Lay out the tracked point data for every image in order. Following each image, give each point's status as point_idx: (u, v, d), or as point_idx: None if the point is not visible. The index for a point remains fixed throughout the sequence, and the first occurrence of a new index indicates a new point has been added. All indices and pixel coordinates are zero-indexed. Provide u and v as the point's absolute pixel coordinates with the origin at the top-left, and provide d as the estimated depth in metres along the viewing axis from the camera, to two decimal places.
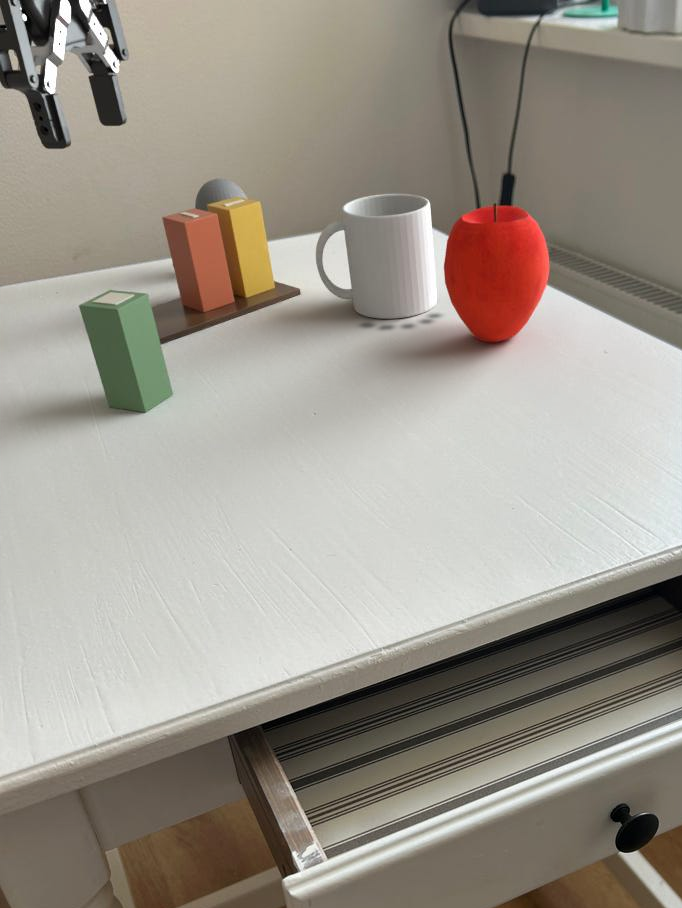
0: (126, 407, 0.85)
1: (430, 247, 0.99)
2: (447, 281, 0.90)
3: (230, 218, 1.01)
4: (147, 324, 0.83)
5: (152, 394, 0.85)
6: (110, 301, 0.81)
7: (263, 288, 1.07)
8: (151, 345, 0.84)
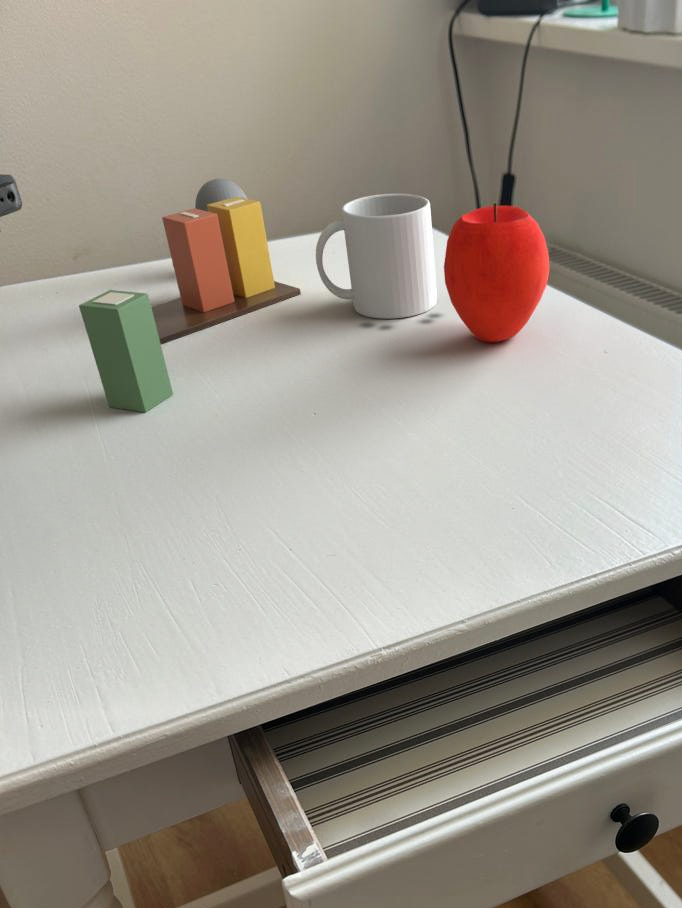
0: (126, 407, 0.85)
1: (430, 247, 0.99)
2: (447, 281, 0.90)
3: (230, 218, 1.01)
4: (147, 324, 0.83)
5: (152, 394, 0.85)
6: (110, 301, 0.81)
7: (263, 288, 1.07)
8: (151, 345, 0.84)
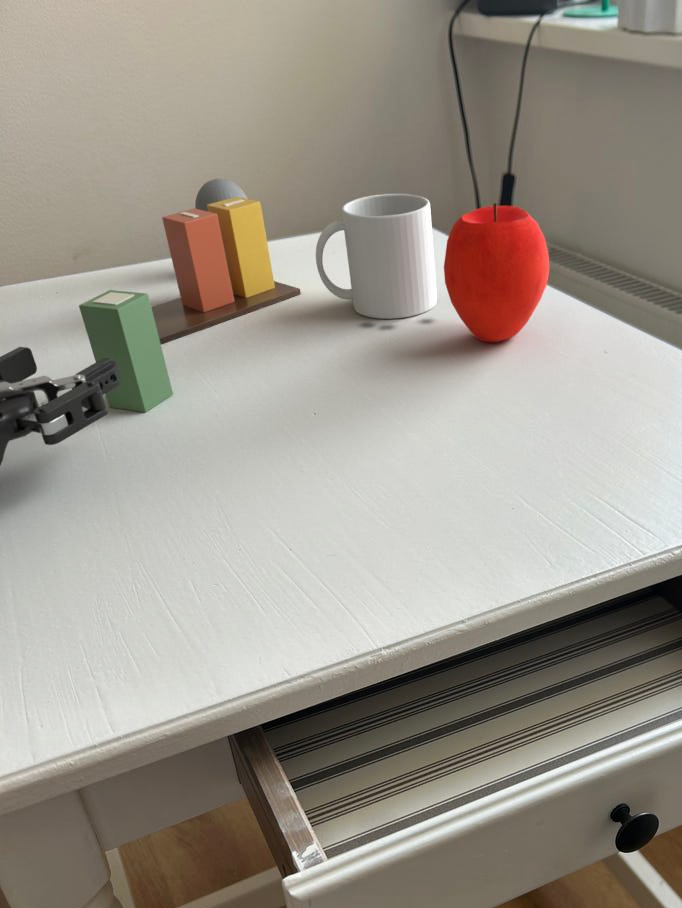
0: (126, 407, 0.85)
1: (430, 247, 0.99)
2: (447, 281, 0.90)
3: (230, 218, 1.01)
4: (147, 324, 0.83)
5: (152, 394, 0.85)
6: (110, 301, 0.81)
7: (263, 288, 1.07)
8: (151, 345, 0.84)
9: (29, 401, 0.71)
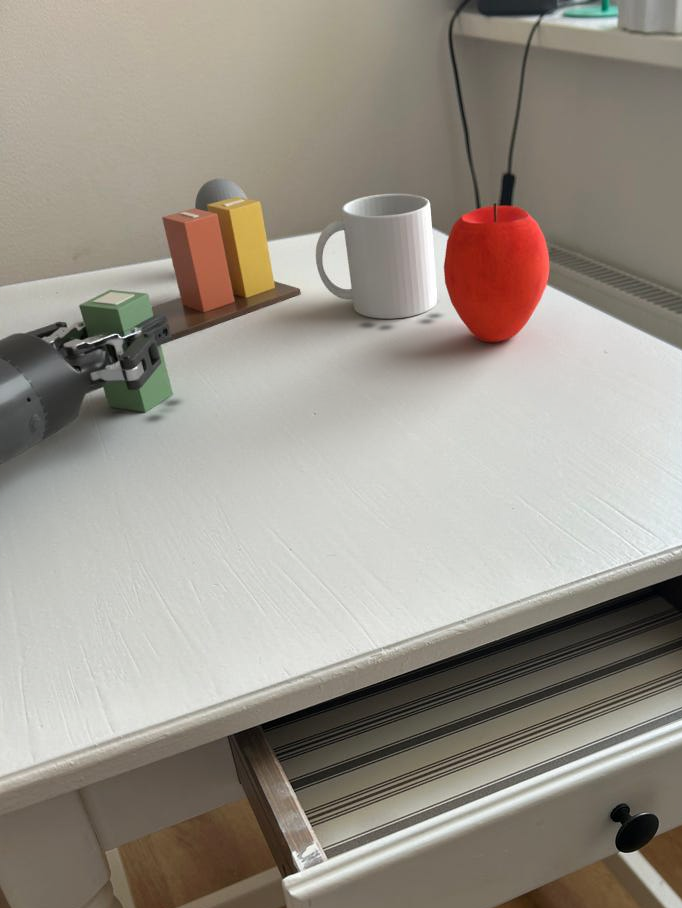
0: (126, 407, 0.85)
1: (430, 247, 0.99)
2: (447, 281, 0.90)
3: (230, 218, 1.01)
4: None
5: (152, 394, 0.85)
6: (110, 301, 0.81)
7: (263, 288, 1.07)
8: None
9: (104, 356, 0.77)
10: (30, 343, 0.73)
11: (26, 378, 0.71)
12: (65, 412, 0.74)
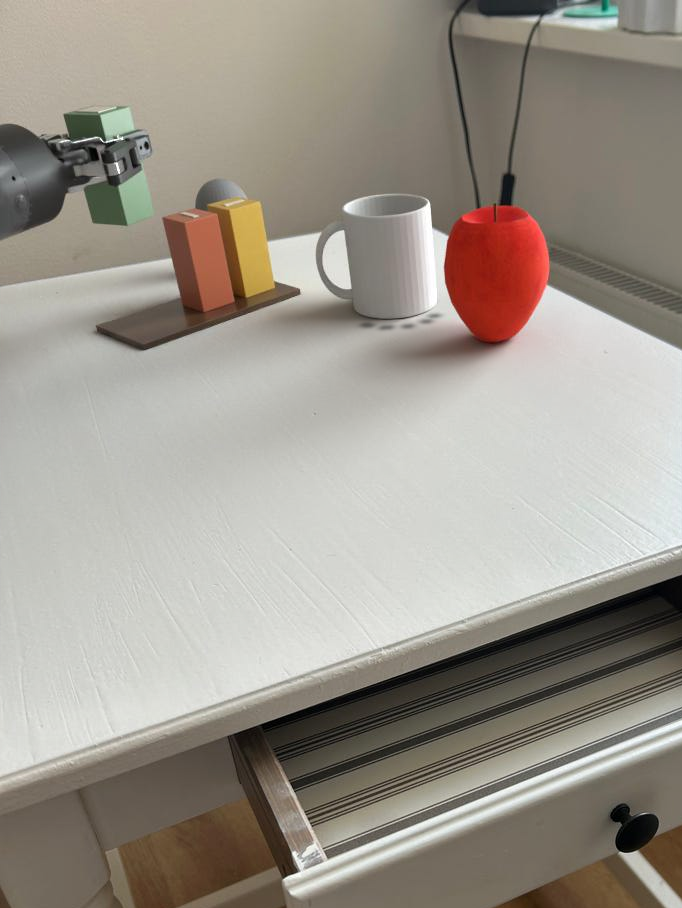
0: (109, 222, 0.89)
1: (430, 247, 0.99)
2: (447, 281, 0.90)
3: (230, 218, 1.01)
4: None
5: (134, 209, 0.89)
6: (93, 110, 0.84)
7: (263, 288, 1.07)
8: None
9: (86, 155, 0.81)
10: (15, 130, 0.76)
11: (11, 158, 0.74)
12: (48, 200, 0.78)
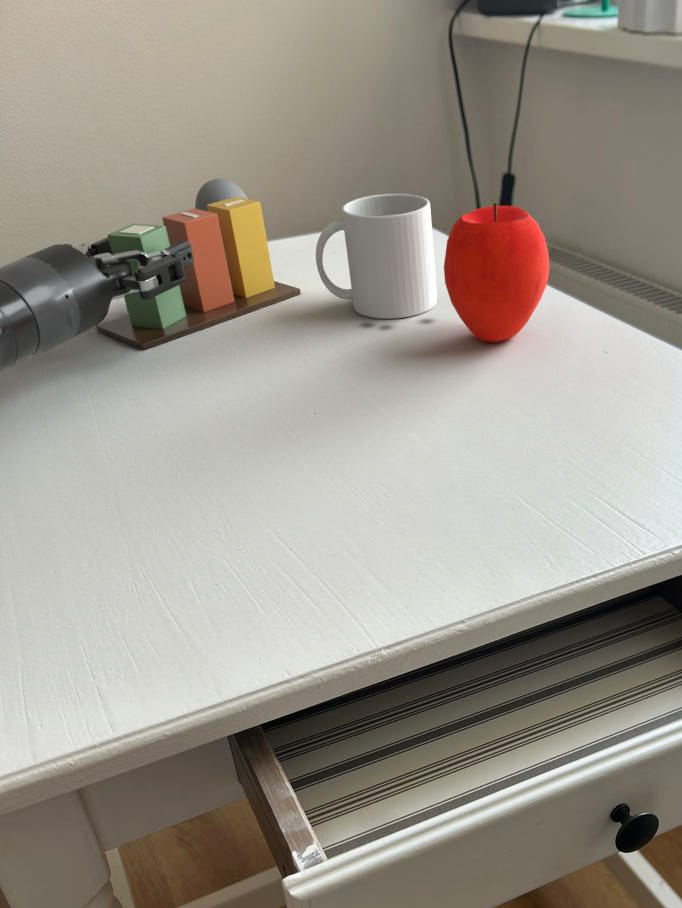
0: (146, 325, 1.00)
1: (430, 247, 0.99)
2: (447, 281, 0.90)
3: (230, 218, 1.01)
4: None
5: (169, 314, 1.00)
6: (134, 231, 0.95)
7: (263, 288, 1.07)
8: None
9: (127, 267, 0.91)
10: (67, 251, 0.87)
11: (64, 279, 0.85)
12: (95, 311, 0.89)
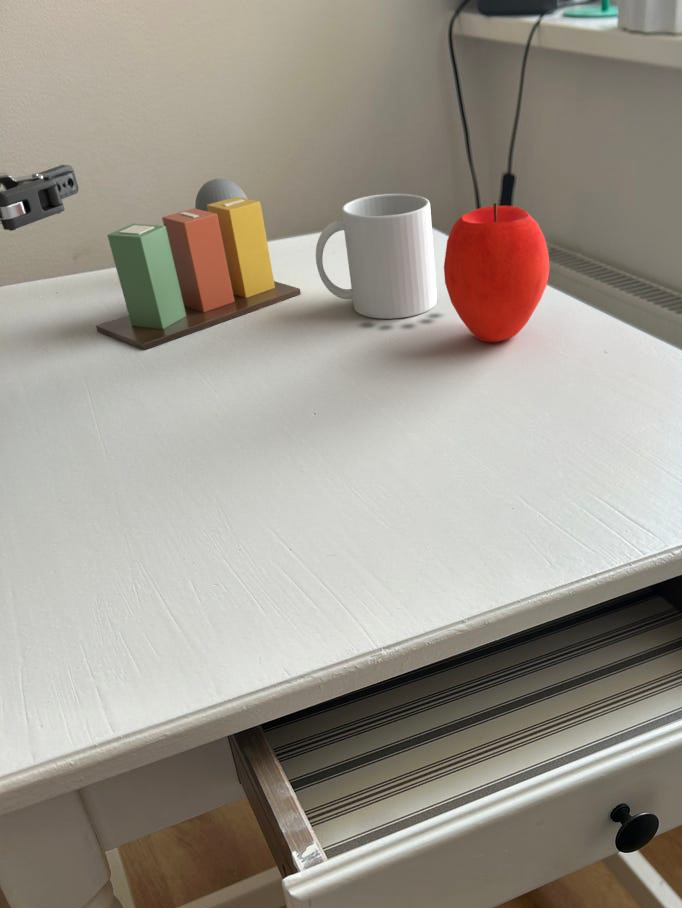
0: (146, 325, 1.00)
1: (430, 247, 0.99)
2: (447, 281, 0.90)
3: (230, 218, 1.01)
4: (165, 252, 0.97)
5: (169, 314, 1.00)
6: (134, 231, 0.95)
7: (263, 288, 1.07)
8: (168, 271, 0.98)
9: None
10: None
11: None
12: None
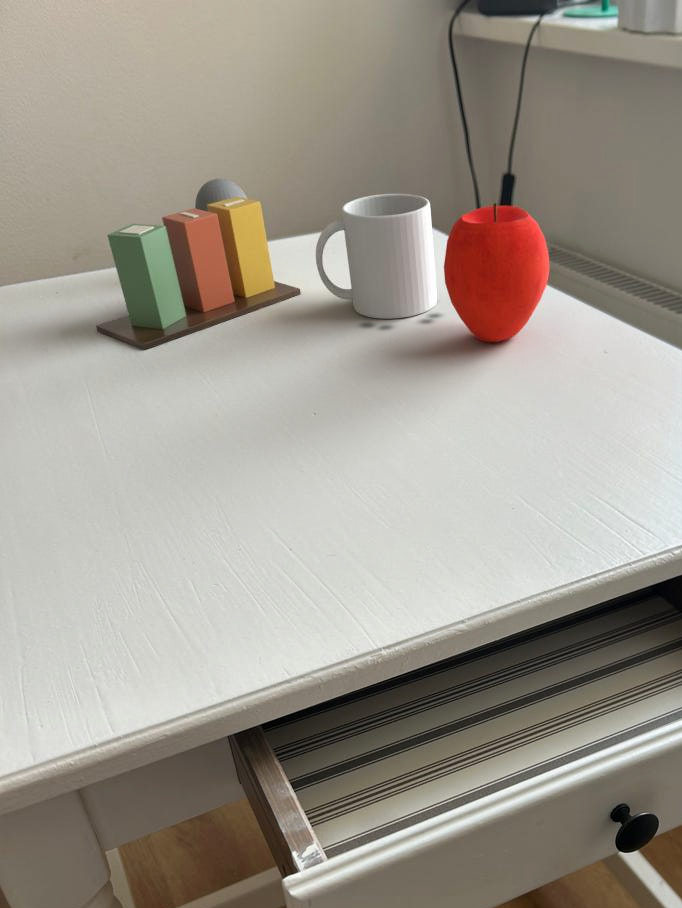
0: (146, 325, 1.00)
1: (430, 247, 0.99)
2: (447, 281, 0.90)
3: (230, 218, 1.01)
4: (165, 252, 0.97)
5: (169, 314, 1.00)
6: (134, 231, 0.95)
7: (263, 288, 1.07)
8: (168, 271, 0.98)
9: None
10: None
11: None
12: None
